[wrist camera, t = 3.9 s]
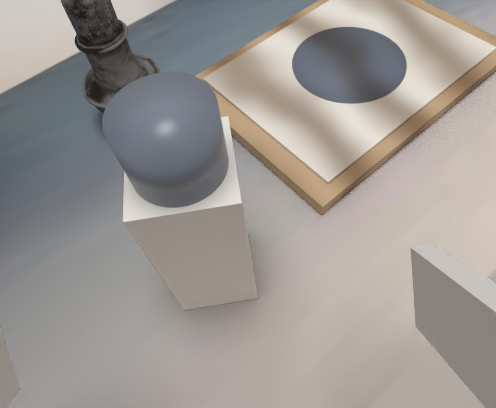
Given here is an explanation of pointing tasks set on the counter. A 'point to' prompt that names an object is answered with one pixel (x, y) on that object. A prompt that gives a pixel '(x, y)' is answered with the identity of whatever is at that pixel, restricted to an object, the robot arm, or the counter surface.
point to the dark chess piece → (105, 50)
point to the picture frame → (347, 88)
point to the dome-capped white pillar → (182, 187)
